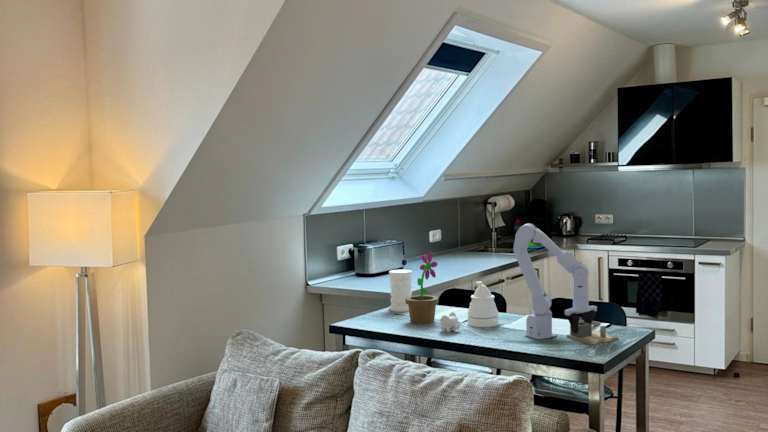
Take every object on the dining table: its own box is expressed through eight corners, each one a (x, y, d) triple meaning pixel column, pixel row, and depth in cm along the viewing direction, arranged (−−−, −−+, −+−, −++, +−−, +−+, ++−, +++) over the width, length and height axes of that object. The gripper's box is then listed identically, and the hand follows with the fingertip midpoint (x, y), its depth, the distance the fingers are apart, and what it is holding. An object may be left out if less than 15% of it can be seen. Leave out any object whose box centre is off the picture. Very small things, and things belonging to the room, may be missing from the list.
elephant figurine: (456, 334, 293) (456, 316, 293) (435, 332, 299) (435, 314, 298) (465, 330, 300) (465, 313, 299) (444, 328, 305) (444, 311, 305)
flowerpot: (445, 321, 317) (444, 252, 315) (419, 326, 309) (417, 255, 306) (425, 316, 329) (424, 249, 326) (399, 321, 320) (397, 252, 318)
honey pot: (484, 328, 303) (483, 285, 301) (461, 323, 312) (460, 281, 311) (504, 323, 311) (504, 281, 310) (481, 319, 321) (480, 278, 319)
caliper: (578, 334, 290) (578, 318, 290) (575, 333, 291) (575, 317, 290) (600, 324, 306) (600, 309, 305) (597, 324, 307) (597, 308, 306)
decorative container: (395, 312, 339) (394, 273, 337) (385, 308, 349) (384, 270, 348) (418, 310, 343) (417, 271, 342) (407, 305, 354) (406, 268, 353)
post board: (590, 344, 272) (590, 331, 272) (566, 337, 284) (566, 324, 283) (618, 339, 279) (618, 326, 278) (594, 332, 290) (593, 320, 290)
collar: (580, 337, 279) (580, 326, 278) (570, 334, 284) (570, 323, 283) (591, 335, 281) (591, 324, 281) (581, 332, 286) (581, 321, 286)
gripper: (573, 300, 274) (573, 336, 275) (602, 296, 281) (602, 331, 282) (560, 297, 281) (560, 332, 282) (589, 293, 287) (589, 327, 288)
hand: (580, 331), depth 282 cm, fingers closed on collar, 6 cm apart
